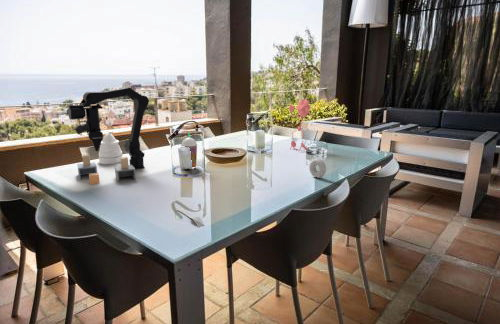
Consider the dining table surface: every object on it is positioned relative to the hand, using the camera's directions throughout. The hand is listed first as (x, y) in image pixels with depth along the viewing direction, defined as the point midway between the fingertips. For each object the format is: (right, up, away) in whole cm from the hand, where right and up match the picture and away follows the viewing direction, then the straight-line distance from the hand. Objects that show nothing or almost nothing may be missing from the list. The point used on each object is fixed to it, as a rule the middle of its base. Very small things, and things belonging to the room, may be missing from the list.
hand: (96, 149), depth 171 cm
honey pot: (-4, -6, +29) cm, 30 cm away
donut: (+111, -15, +1) cm, 112 cm away
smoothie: (+45, -10, +15) cm, 48 cm away
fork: (+55, -27, -47) cm, 78 cm away
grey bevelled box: (+16, -15, -4) cm, 22 cm away
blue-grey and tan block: (-4, -13, 0) cm, 14 cm away
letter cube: (+4, -16, -10) cm, 19 cm away
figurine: (+113, +2, +65) cm, 131 cm away
